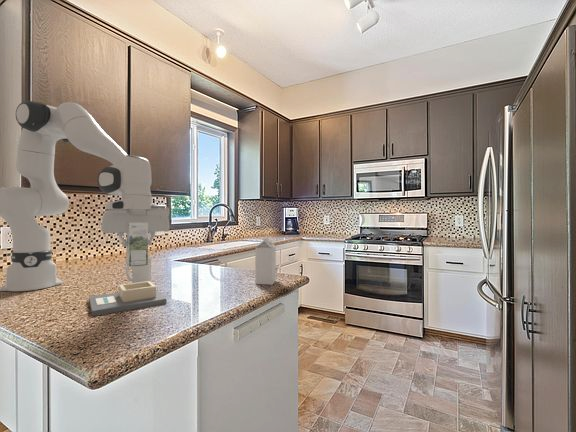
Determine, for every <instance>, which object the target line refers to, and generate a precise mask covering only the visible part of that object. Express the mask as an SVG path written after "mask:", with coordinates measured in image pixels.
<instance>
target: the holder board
mask: <svg viewBox="0 0 576 432" xmlns="http://www.w3.org/2000/svg"><path fill="white" fill-rule="evenodd" d="M88 302H89V308H90V311H91V316H92V317H95V316H100V315H101V316H102V315H107V314H113V313H119V312H125V311H130V310H135V309H136V310H137V309H142V308H148V307H153V306H158V305H159V306H160V305H166V304H167V298H166V297H165V296H164V295H163V294H162V293H160V292H159V291H158V290H157V286H156V285H155V284H154V283H153V282H152V281H151V282H150V281H146V282H138V283H132V282H131V283H130V282H129V283H124V284H118V291H117V292H112V293H105V294H98V295H96V294H95V295H90V296H88Z"/></svg>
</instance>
